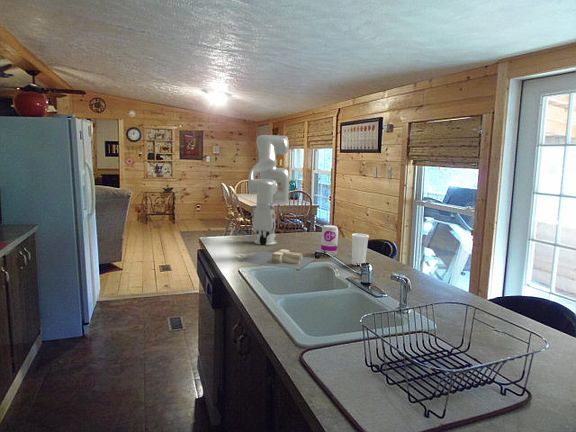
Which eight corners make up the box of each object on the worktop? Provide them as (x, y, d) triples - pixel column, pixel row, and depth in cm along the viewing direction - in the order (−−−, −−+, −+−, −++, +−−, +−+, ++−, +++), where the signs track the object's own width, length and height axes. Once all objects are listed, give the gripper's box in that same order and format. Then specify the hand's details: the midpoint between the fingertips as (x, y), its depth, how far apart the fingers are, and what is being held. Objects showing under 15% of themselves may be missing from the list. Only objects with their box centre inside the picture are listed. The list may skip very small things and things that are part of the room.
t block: (281, 257, 211) (282, 249, 211) (305, 260, 207) (305, 252, 206) (271, 262, 200) (271, 253, 200) (295, 265, 196) (296, 257, 195)
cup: (368, 264, 207) (370, 234, 205) (365, 267, 199) (367, 237, 197) (351, 262, 209) (353, 232, 207) (348, 265, 202) (349, 235, 200)
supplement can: (335, 257, 217) (337, 228, 215) (319, 256, 218) (321, 226, 216) (337, 254, 225) (339, 225, 223) (321, 252, 226) (323, 224, 224)
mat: (260, 251, 222) (260, 251, 222) (315, 259, 212) (315, 258, 212) (237, 261, 200) (237, 260, 200) (298, 270, 189) (298, 269, 189)
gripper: (281, 207, 206) (280, 245, 210) (253, 204, 212) (252, 241, 215) (275, 209, 200) (274, 248, 203) (246, 206, 205) (245, 244, 208)
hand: (263, 244), depth 209 cm, fingers closed
